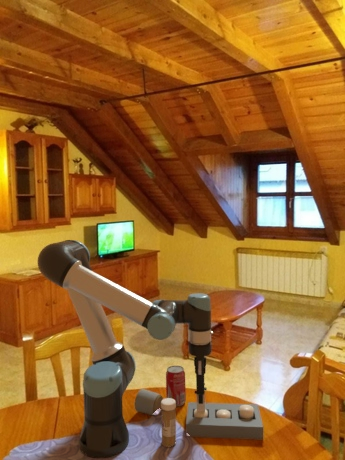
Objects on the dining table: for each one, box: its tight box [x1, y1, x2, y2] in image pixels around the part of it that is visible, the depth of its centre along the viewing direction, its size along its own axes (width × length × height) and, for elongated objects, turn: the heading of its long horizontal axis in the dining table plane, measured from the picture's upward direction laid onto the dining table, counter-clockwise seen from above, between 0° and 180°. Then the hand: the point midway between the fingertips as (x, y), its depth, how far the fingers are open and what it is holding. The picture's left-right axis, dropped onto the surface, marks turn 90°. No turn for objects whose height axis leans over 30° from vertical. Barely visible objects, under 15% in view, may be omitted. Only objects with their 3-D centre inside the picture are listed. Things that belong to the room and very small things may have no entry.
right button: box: [239, 405, 254, 419], centre depth 129 cm, size 5×5×3 cm
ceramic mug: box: [134, 388, 164, 416], centre depth 140 cm, size 11×8×8 cm
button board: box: [185, 401, 264, 440], centre depth 130 cm, size 24×14×4 cm, turn 85°
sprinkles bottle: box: [161, 397, 177, 448], centre depth 120 cm, size 5×5×14 cm
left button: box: [194, 409, 208, 418], centre depth 130 cm, size 5×5×3 cm
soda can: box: [165, 365, 187, 408], centre depth 145 cm, size 7×7×13 cm
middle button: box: [216, 410, 231, 419], centre depth 130 cm, size 5×5×3 cm
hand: (200, 410), depth 130 cm, fingers closed
